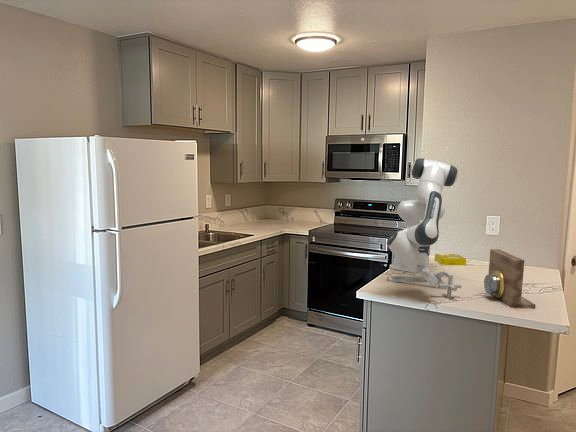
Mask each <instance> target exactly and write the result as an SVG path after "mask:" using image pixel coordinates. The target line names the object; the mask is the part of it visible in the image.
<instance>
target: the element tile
mask: <svg viewBox="0 0 576 432" xmlns="http://www.w3.org/2000/svg"><path fill="white" fill-rule="evenodd" d="M434 261H435V262H437V264H440V265H443V266H467V258H466V257H464V256H462V255H461V254H458V253H443V252H441V253H435V254H434Z"/></svg>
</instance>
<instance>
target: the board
mask: <svg viewBox="0 0 576 432" xmlns="http://www.w3.org/2000/svg"><path fill="white" fill-rule="evenodd" d="M524 269H525V259H523V258H519V257H518V256H516V255H513V254H510V253H508V252H505V251H504V250H502V249H499V248H498V249H496V248H495V249H491V248H490V250H489V263H488V274H487V275H492V274H493V272H494V271H501V272H502V273H503V275H504V278H505V293H504V295H503V297H502V298H497V299H498V300H499V301H501V302H502V303H504V305H506V306H508V307H510V308H512V309H514V308H517V309H536V304H535V303H533V302H532V301H530V300H528V299H526V298H525V297H523V296H522V294H523V293H522V291H523V281H524V271H525V270H524ZM490 294H491V295H492V296H493V297H494V295H493V293H490Z"/></svg>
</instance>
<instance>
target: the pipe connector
mask: <svg viewBox="0 0 576 432" xmlns="http://www.w3.org/2000/svg"><path fill="white" fill-rule="evenodd" d="M448 274H449V277H447V278H448V279H447V281H445V280H444V281H442V282H443V284H438V285H439V286H438V288H442V289H443V288H444V289H446V298H449V297H451V298H452V292H457V291H458V289H462V287H463V286H462V284H461V283H453V279H454V275H453V274H451V273H448Z"/></svg>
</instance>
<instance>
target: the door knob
mask: <svg viewBox="0 0 576 432" xmlns="http://www.w3.org/2000/svg"><path fill="white" fill-rule="evenodd" d="M483 282H484V283H483V288H484V290H485V292H486V294H491V293H493V295H494V296H493V295H492V296H493V297H494V298H496V299H498V298H502V297H503V295H504V293H505V278H504V275H503V273H502V272H501V271H494V272H493V274H492V275H488V274H486V275H485V277H484V280H483Z"/></svg>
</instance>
